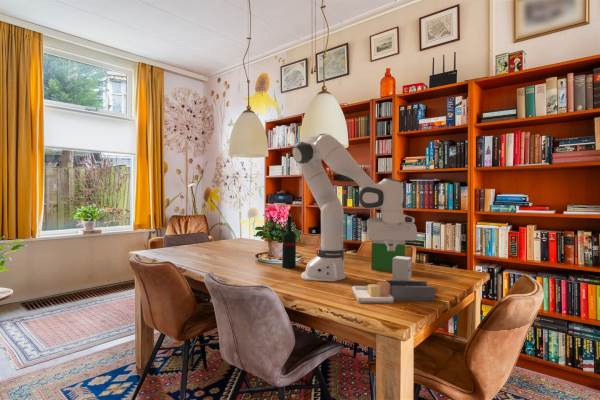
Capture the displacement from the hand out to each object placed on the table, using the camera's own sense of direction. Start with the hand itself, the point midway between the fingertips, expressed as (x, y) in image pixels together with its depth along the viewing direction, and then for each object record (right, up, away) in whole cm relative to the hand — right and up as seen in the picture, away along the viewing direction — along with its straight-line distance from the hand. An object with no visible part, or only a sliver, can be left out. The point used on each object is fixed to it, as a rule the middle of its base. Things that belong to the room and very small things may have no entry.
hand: (391, 250), depth 140 cm
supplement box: (+10, -19, +19) cm, 29 cm away
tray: (-8, -19, 0) cm, 21 cm away
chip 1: (-5, -16, 0) cm, 17 cm away
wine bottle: (-44, -17, +53) cm, 71 cm away
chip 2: (-3, -17, 0) cm, 17 cm away
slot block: (+8, -19, 0) cm, 21 cm away
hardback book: (+11, -18, +48) cm, 53 cm away
